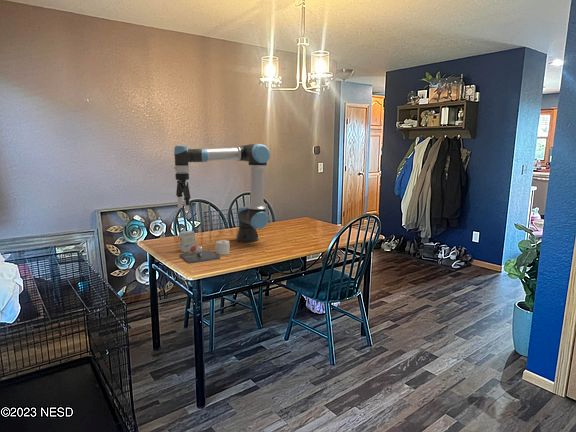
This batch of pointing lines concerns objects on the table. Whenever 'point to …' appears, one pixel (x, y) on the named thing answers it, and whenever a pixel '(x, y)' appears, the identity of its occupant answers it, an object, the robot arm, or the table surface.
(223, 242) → the light grey boxy piece
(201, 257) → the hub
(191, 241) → the ink box
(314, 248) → the table surface
